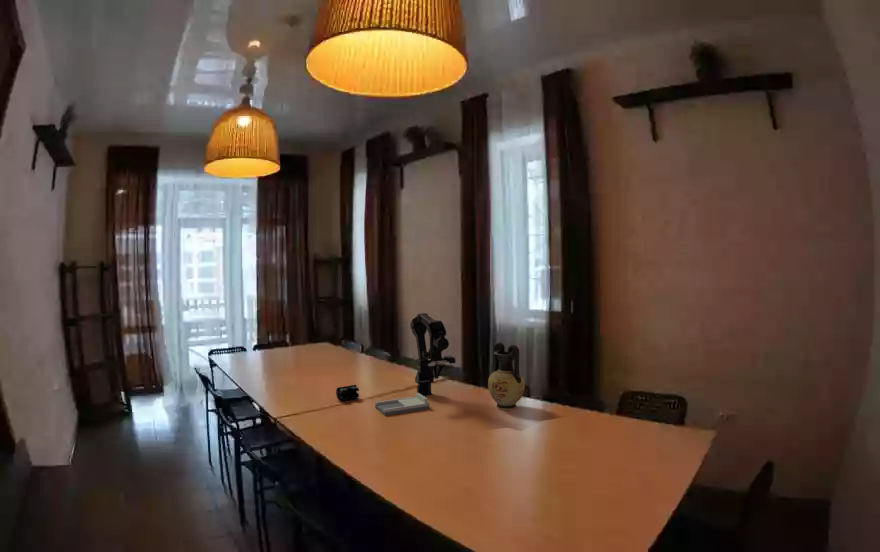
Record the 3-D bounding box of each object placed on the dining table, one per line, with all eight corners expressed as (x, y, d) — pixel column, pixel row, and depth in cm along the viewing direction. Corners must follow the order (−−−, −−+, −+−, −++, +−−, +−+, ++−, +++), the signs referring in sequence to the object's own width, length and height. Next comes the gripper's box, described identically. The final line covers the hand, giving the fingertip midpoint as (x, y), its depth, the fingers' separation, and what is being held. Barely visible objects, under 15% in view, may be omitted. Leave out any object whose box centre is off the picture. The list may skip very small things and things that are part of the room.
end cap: (354, 396, 264) (354, 383, 264) (359, 399, 258) (359, 386, 258) (336, 399, 259) (335, 386, 258) (341, 402, 253) (340, 389, 252)
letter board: (418, 401, 252) (418, 396, 251) (429, 408, 239) (429, 403, 239) (375, 407, 242) (375, 402, 242) (384, 415, 230) (384, 409, 230)
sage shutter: (418, 398, 250) (418, 392, 250) (427, 404, 240) (427, 398, 240) (397, 401, 246) (397, 395, 246) (405, 407, 235) (405, 401, 235)
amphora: (532, 406, 239) (531, 343, 238) (511, 415, 227) (510, 348, 226) (502, 400, 251) (500, 339, 250) (480, 407, 239) (479, 344, 238)
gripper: (446, 342, 258) (446, 373, 259) (411, 346, 251) (412, 377, 251) (455, 346, 248) (456, 377, 249) (420, 349, 241) (421, 382, 241)
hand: (436, 378), depth 248 cm, fingers closed
